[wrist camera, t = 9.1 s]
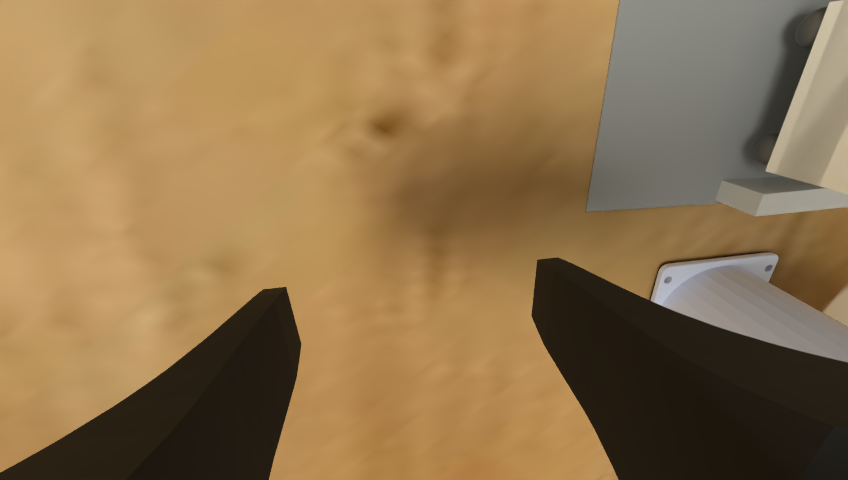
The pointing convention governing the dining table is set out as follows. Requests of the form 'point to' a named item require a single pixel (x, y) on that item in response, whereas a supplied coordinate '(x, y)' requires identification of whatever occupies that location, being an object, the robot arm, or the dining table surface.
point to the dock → (701, 106)
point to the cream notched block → (816, 107)
